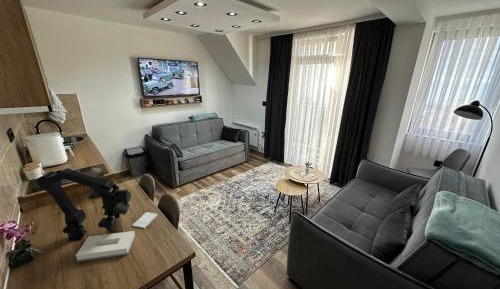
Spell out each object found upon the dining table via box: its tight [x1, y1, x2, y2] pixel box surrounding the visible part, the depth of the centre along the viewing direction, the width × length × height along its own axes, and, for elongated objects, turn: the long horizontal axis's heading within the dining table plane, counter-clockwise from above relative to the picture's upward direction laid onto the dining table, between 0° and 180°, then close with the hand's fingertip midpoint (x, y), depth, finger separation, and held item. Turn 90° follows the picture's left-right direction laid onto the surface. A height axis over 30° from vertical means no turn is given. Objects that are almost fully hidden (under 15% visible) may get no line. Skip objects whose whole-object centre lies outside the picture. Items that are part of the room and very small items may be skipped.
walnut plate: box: [106, 217, 126, 234], centre depth 116 cm, size 8×2×9 cm, turn 102°
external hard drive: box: [131, 211, 158, 229], centre depth 127 cm, size 2×8×12 cm
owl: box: [87, 166, 106, 200], centre depth 150 cm, size 13×13×20 cm
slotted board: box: [75, 230, 136, 262], centre depth 106 cm, size 22×12×4 cm, turn 102°
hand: (114, 226), depth 115 cm, fingers open, 9 cm apart
